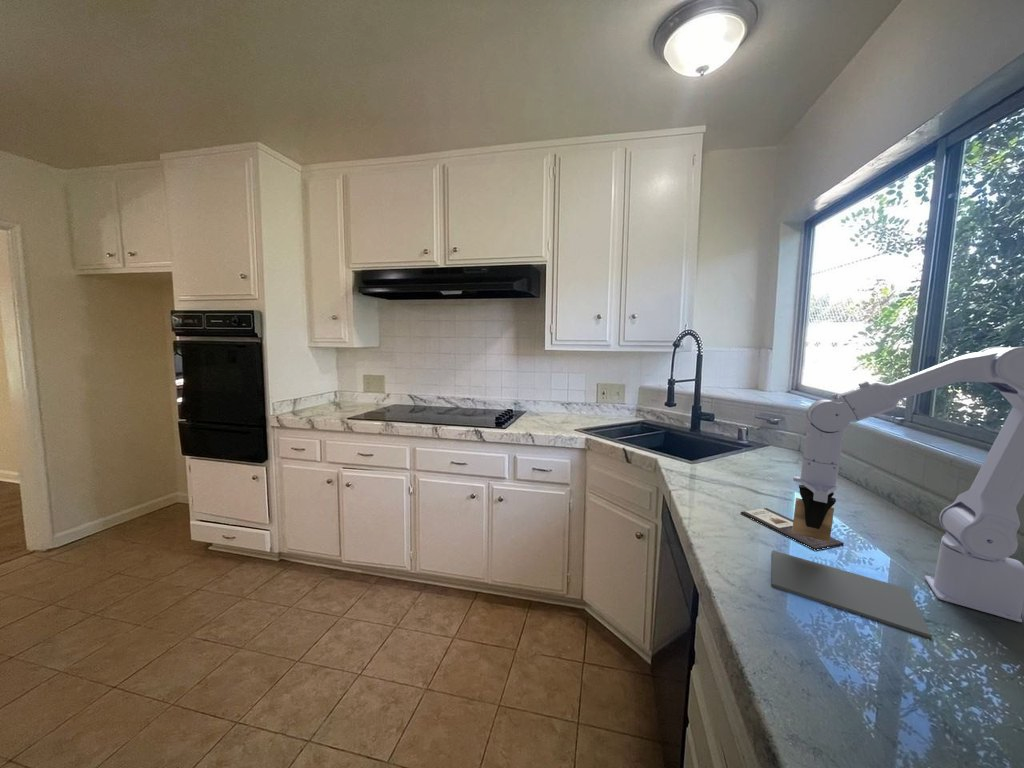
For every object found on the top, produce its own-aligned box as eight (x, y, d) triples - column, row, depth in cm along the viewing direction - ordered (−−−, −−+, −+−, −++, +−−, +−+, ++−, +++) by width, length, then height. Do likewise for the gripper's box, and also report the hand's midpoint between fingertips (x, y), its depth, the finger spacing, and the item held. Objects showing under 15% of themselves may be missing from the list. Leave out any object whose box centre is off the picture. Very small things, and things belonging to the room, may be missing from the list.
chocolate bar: (815, 548, 82) (740, 511, 99) (815, 552, 82) (740, 515, 99) (843, 542, 85) (766, 508, 102) (843, 547, 85) (766, 511, 102)
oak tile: (828, 538, 78) (832, 504, 78) (829, 542, 77) (834, 508, 76) (792, 529, 82) (795, 497, 81) (792, 532, 80) (796, 500, 79)
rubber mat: (905, 590, 70) (906, 588, 69) (931, 638, 58) (932, 635, 58) (772, 552, 81) (772, 550, 81) (771, 586, 69) (771, 583, 69)
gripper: (794, 448, 86) (787, 507, 87) (797, 464, 74) (789, 532, 75) (836, 455, 82) (827, 516, 83) (846, 472, 70) (835, 544, 71)
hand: (812, 524), depth 79 cm, fingers closed on oak tile, 2 cm apart
